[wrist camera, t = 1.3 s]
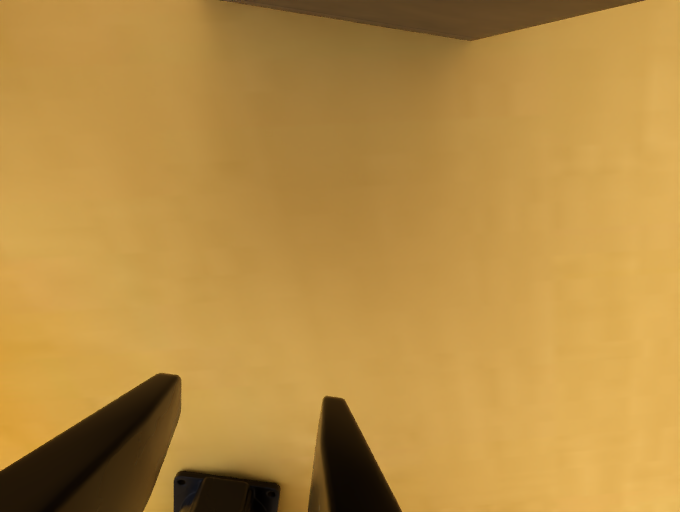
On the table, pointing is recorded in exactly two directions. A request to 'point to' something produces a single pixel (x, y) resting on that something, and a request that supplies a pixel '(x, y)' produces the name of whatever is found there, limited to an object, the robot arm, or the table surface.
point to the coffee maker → (445, 13)
